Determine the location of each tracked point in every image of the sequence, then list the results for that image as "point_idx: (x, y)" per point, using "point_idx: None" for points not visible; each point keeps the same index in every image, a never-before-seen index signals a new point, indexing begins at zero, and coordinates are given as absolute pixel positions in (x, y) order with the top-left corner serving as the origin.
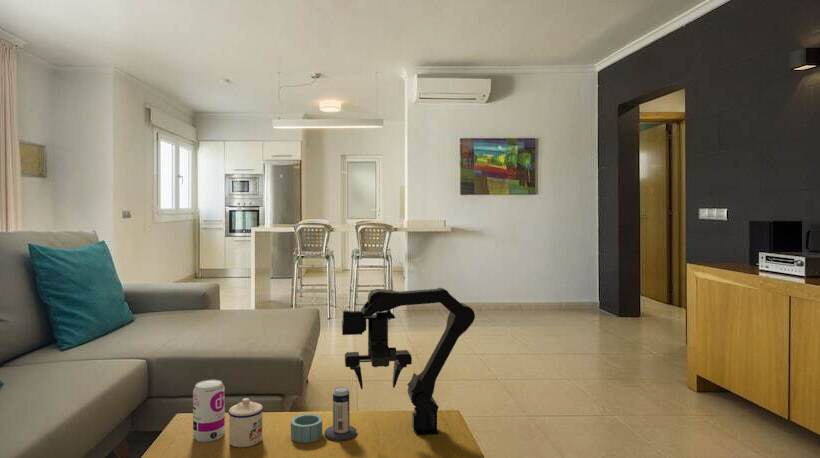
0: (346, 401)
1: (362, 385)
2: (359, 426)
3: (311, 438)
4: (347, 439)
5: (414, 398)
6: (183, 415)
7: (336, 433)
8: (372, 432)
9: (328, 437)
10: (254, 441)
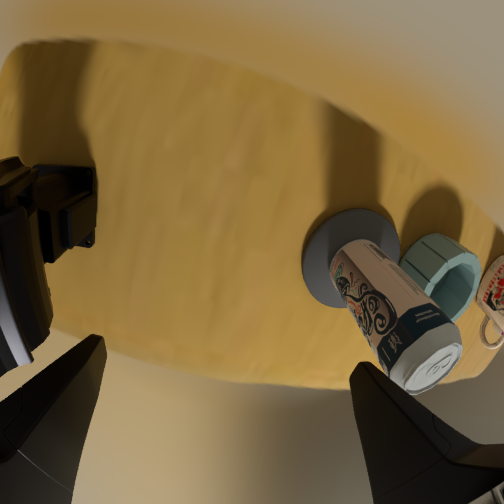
0: (410, 309)
1: (375, 380)
2: (275, 296)
3: (438, 236)
4: (350, 209)
5: (8, 207)
6: (481, 372)
7: None
8: (247, 239)
9: (397, 237)
10: (501, 261)
